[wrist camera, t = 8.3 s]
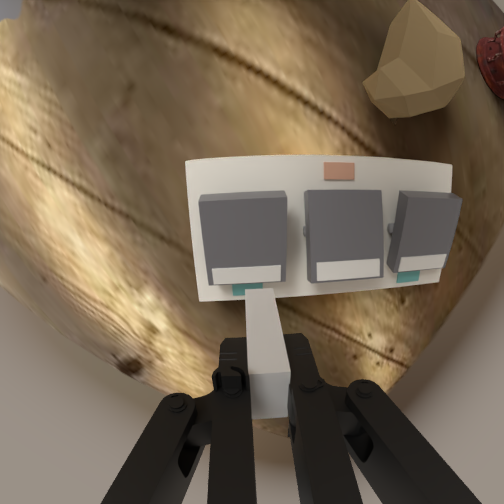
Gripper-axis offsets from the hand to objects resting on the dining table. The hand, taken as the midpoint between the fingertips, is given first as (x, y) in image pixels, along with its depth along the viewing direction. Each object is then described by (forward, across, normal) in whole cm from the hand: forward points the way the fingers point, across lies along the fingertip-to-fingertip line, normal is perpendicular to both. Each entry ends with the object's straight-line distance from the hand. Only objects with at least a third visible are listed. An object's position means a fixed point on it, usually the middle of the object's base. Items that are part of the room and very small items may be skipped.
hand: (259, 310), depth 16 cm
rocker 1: (+10, -1, +1) cm, 10 cm away
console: (+18, +8, +1) cm, 19 cm away
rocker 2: (+10, +17, +1) cm, 20 cm away
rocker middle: (+10, +8, +1) cm, 13 cm away
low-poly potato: (+18, +18, +18) cm, 31 cm away
